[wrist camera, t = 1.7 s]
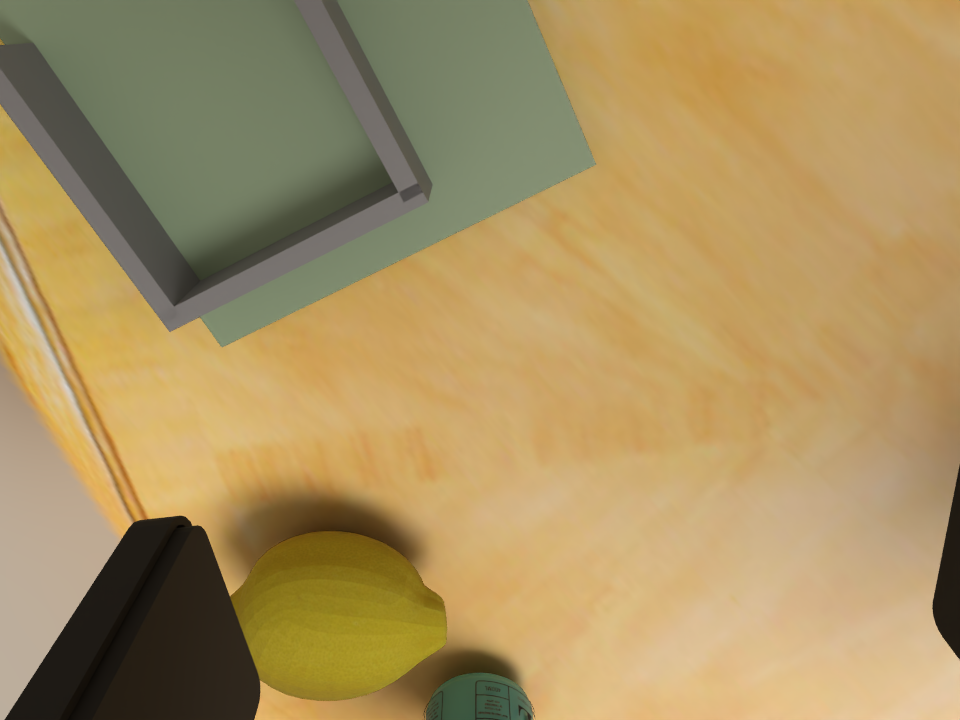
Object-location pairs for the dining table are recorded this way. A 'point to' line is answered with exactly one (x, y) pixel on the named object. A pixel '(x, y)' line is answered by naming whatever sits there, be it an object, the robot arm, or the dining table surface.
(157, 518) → the robot arm
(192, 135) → the deck plate
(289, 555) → the lemon
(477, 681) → the beverage bottle
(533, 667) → the dining table surface
